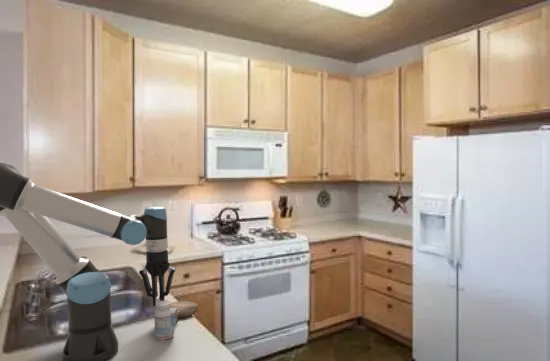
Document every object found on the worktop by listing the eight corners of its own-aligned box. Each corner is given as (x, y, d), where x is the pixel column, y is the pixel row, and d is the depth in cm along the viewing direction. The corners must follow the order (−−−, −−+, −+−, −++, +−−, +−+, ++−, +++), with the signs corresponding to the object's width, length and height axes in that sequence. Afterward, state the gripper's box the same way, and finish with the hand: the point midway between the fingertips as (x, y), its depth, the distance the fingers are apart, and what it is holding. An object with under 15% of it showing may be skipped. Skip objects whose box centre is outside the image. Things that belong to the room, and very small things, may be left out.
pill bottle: (164, 331, 130) (163, 298, 130) (177, 334, 127) (177, 301, 127) (151, 338, 125) (149, 304, 124) (164, 341, 122) (163, 307, 121)
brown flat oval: (166, 305, 154) (165, 294, 154) (200, 304, 154) (200, 294, 154) (151, 325, 134) (150, 313, 134) (190, 324, 134) (190, 312, 134)
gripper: (135, 252, 132) (137, 319, 133) (172, 251, 133) (174, 318, 134) (142, 248, 140) (144, 311, 141) (177, 247, 140) (179, 310, 141)
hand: (159, 314), depth 137 cm, fingers closed
